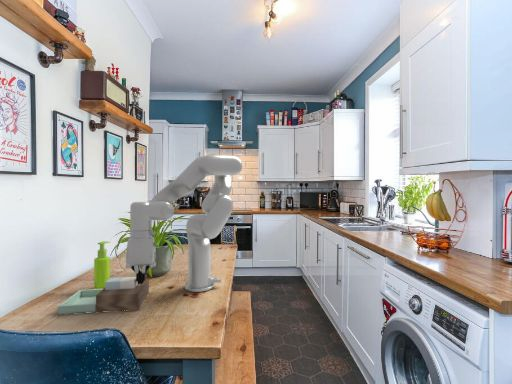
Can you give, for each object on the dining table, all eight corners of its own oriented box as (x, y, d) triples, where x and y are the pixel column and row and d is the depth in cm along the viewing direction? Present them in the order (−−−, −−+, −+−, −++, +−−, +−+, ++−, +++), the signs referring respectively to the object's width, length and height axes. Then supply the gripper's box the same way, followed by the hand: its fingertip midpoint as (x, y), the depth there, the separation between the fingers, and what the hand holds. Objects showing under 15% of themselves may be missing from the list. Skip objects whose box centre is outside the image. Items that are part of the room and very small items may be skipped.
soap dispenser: (114, 286, 125) (114, 240, 125) (102, 291, 118) (102, 243, 118) (103, 285, 127) (103, 240, 127) (91, 290, 120) (90, 243, 120)
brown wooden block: (148, 293, 116) (148, 279, 116) (138, 310, 100) (138, 293, 100) (112, 295, 114) (112, 280, 114) (96, 312, 98) (95, 295, 98)
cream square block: (137, 283, 110) (137, 276, 110) (134, 288, 105) (134, 280, 105) (124, 284, 109) (124, 277, 109) (119, 288, 104) (119, 281, 104)
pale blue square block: (124, 284, 109) (124, 277, 109) (119, 289, 104) (119, 281, 104) (110, 285, 108) (110, 277, 108) (105, 289, 103) (105, 282, 103)
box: (111, 295, 114) (111, 288, 114) (95, 312, 98) (95, 304, 98) (79, 297, 112) (79, 289, 112) (58, 315, 96) (57, 306, 96)
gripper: (163, 232, 112) (163, 279, 112) (123, 233, 110) (122, 280, 110) (159, 235, 105) (159, 285, 105) (116, 236, 103) (116, 287, 103)
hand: (140, 282), depth 108 cm, fingers closed
